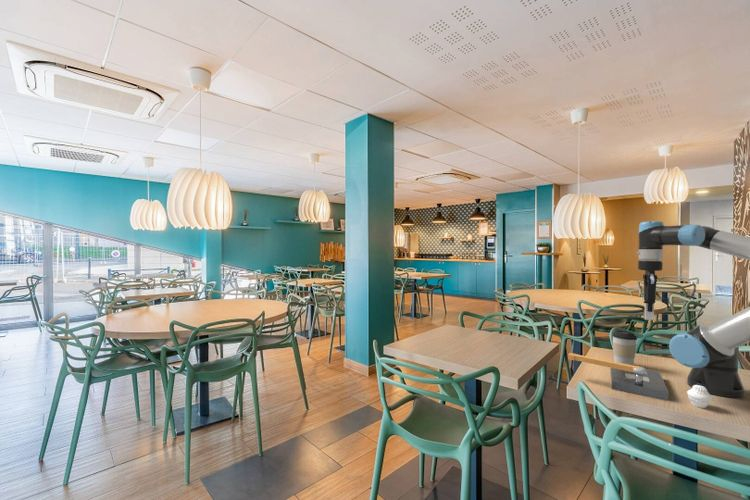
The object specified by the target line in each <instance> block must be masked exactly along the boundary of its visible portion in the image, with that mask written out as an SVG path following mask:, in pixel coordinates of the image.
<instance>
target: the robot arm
mask: <svg viewBox="0 0 750 500" xmlns="http://www.w3.org/2000/svg"><path fill="white" fill-rule="evenodd" d="M664 246H686V247H691V246H692V247H693V246H694V247H700V248H704V249H707V250H711V251H715V252H718V253H722V254H726V255H729V256H733V257H737V258H740V259H743V260H747V261H750V236H745V235H740V234H737V233H732V232H727V231H725V230H724V231H723V230H719V229H715V228H712V227H709V226H705V225H703V226H702V225H700V224H679V225H664V222H663V221H657V220H653V221H651V220H649V221H642V222H640V223H639V225H638V251H636V254H637V255H638V261H637V268H638V270H640V271H645V272H644V274H642V279H643V295H644V296H643V300H644V301H643V304H644V320H645V321H646V320H649V321H655V303H656V295H657V294H656V293H657V282H658V276H657V274H656V272H659V271H663V261H662V260H663V257H664V256H663V255H664V250H663V249H664V248H663V247H664ZM747 343H750V306H748V307H746V308H744V309H742V310H740V311H738V312H736V313H734V314H732V315H729V316H728V317H726V318H724V319H722V320H720V321H718V322H715V323H713V324H710V325H709V324H703V323H702V324H701V325H699V324H697V325H695V326H694V328H692V329H691V330H689V331H686V332H685V333H684V332H683V333H678V334H676V335H674V336H673V337H672V338H671V339H670V340H669V344H668V345H669V347H668V349H669V353H670V354H671V356H672V357H673V359H674V360H675V361H677V362H678V363H679V364H681V365H682V366H684V367H687V368H691V369H690V371H689V374H688V375H687V378H686V383H687V385H688V386H689V387H691V388H692V387H693V386H694V385H700V386H703V387H705V388H706V389H707V392H708V393H709V394H710V395H714V396H719V397H725V398H736V399H737V398H743V397H745V388H744V385H743V382H742V379H741V377H740V375H739V372H738V371H739V354H740V353H739V351H740V347H741V346H743V345H746V344H747Z"/></svg>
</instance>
